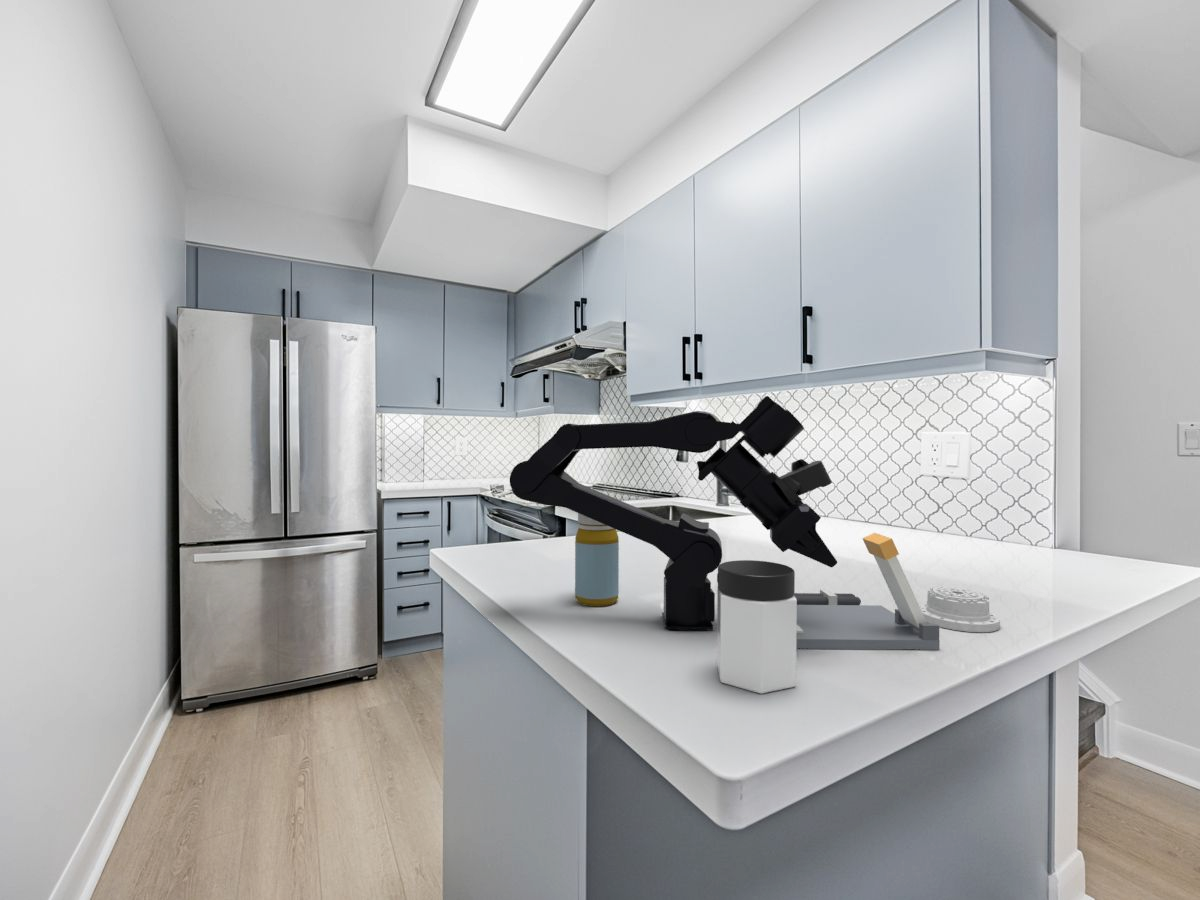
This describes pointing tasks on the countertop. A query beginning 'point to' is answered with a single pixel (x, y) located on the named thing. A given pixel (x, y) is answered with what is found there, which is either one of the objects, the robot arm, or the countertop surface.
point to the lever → (895, 578)
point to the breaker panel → (860, 629)
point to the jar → (756, 625)
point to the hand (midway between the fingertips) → (834, 564)
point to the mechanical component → (959, 610)
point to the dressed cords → (826, 598)
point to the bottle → (596, 563)
